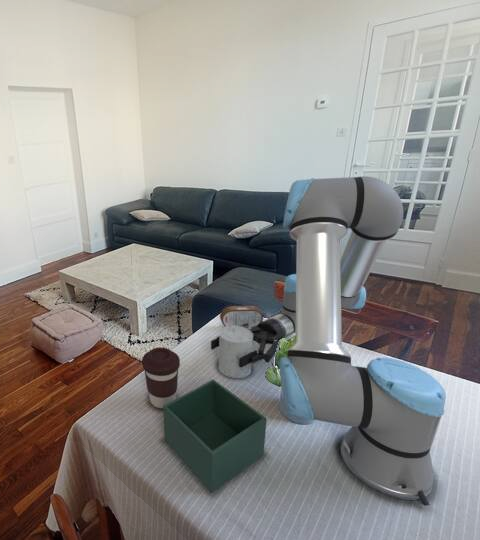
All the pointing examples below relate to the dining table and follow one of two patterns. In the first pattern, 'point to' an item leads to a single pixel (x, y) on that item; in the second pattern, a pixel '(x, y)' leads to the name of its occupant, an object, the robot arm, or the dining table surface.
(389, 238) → the robot arm
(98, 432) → the dining table surface
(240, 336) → the white mottled cylinder
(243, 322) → the tin
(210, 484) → the bin
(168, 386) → the coffee cup
